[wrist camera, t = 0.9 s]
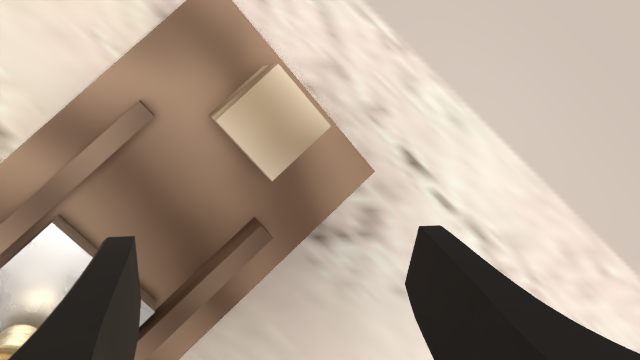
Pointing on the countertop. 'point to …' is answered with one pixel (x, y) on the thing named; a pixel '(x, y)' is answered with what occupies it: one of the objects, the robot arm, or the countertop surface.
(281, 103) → the block
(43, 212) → the press board
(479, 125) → the countertop surface
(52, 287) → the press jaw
